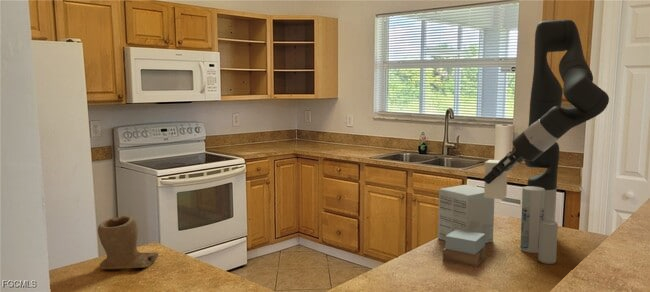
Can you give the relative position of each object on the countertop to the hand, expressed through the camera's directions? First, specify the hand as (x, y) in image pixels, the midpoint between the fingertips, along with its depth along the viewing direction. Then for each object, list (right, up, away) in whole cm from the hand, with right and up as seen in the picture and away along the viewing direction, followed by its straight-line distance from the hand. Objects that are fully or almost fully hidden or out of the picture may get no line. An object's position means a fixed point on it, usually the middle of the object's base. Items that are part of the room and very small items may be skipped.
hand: (489, 179), depth 143 cm
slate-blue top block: (-4, -21, +9) cm, 24 cm away
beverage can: (+19, -25, +7) cm, 33 cm away
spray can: (+19, -24, +18) cm, 35 cm away
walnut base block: (-4, -25, +10) cm, 27 cm away
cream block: (+2, -5, 0) cm, 5 cm away
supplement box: (+1, -23, +29) cm, 37 cm away
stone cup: (-104, -26, +4) cm, 108 cm away
